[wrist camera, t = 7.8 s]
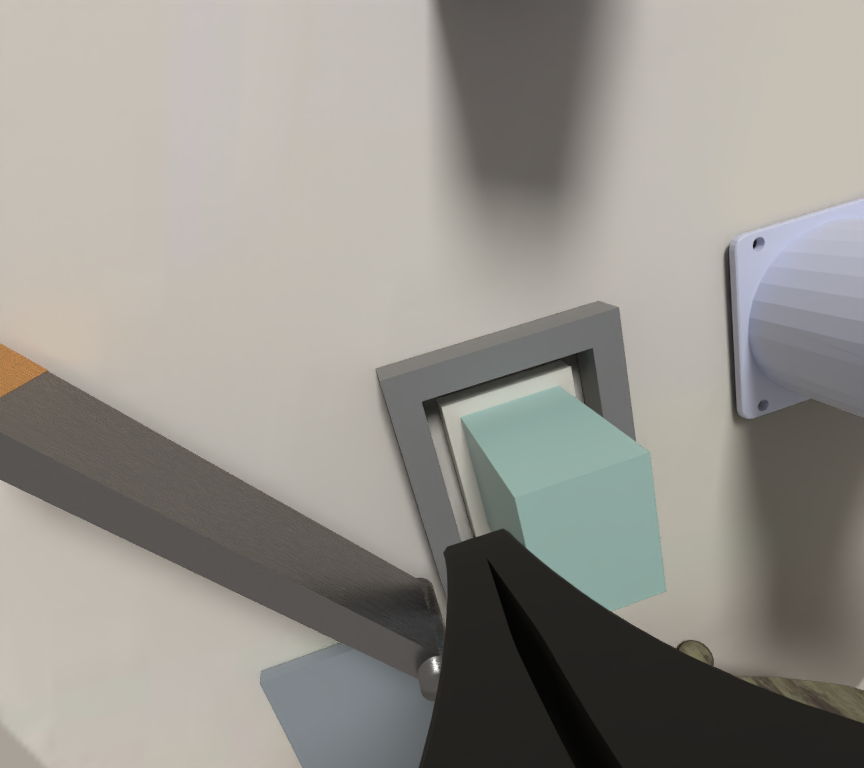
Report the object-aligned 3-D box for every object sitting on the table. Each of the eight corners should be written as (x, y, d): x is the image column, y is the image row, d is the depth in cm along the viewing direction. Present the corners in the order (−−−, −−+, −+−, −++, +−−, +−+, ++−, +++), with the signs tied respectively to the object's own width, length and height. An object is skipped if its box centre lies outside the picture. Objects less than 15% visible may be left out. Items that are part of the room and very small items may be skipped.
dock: (598, 301, 20) (618, 307, 19) (628, 512, 24) (647, 531, 22) (375, 368, 19) (379, 381, 18) (440, 578, 23) (447, 602, 21)
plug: (559, 359, 21) (667, 426, 14) (582, 489, 23) (685, 599, 16) (436, 398, 20) (489, 486, 14) (471, 528, 22) (531, 656, 16)
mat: (437, 608, 23) (440, 618, 23) (488, 769, 27) (492, 780, 27) (261, 671, 22) (259, 682, 22) (339, 827, 26) (339, 841, 26)
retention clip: (-13, 330, 16) (-141, 374, 12) (439, 586, 23) (468, 679, 18) (-36, 365, 16) (-171, 421, 12) (419, 610, 23) (443, 707, 18)
